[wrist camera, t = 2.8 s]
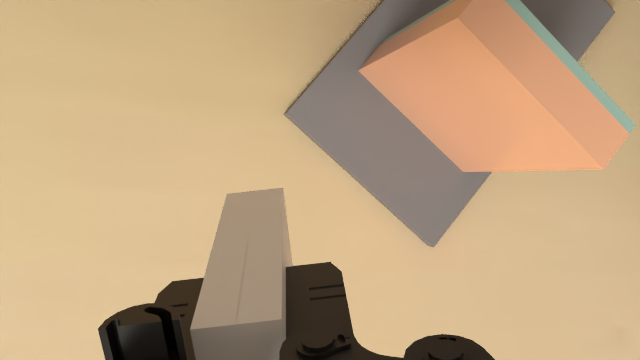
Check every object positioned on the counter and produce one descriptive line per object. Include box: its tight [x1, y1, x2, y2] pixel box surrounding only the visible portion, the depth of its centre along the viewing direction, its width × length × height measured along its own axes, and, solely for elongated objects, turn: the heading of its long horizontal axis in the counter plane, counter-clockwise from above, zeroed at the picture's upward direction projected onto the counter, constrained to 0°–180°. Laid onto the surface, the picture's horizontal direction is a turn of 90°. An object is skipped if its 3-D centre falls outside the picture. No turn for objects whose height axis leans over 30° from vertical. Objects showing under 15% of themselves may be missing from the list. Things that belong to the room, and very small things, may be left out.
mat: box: [284, 0, 615, 247], centre depth 37 cm, size 20×12×1 cm, turn 139°
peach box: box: [358, 0, 636, 172], centre depth 30 cm, size 2×9×12 cm, turn 49°
